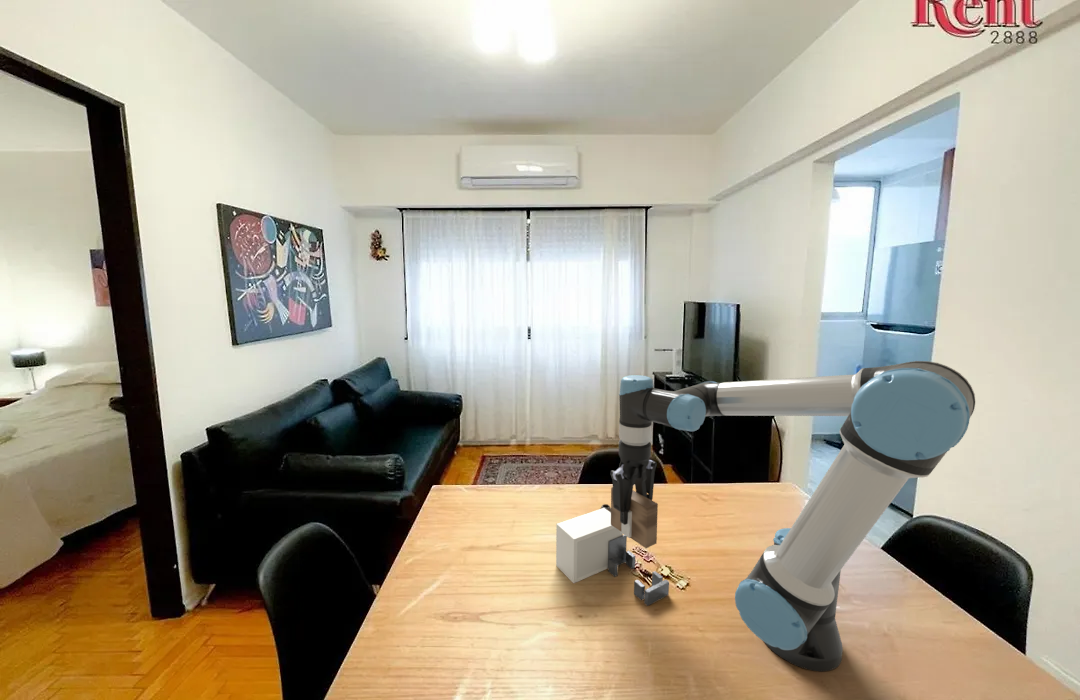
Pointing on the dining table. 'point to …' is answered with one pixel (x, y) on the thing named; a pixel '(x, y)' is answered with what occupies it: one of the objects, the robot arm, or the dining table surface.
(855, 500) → the robot arm
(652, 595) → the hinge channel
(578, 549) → the cabinet
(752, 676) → the dining table surface
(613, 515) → the door
